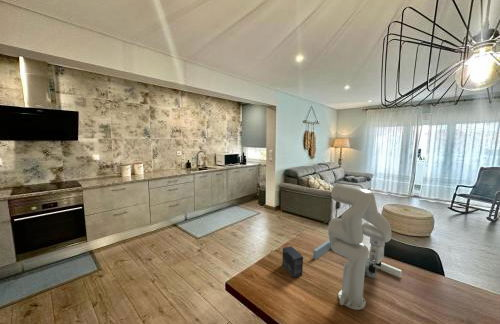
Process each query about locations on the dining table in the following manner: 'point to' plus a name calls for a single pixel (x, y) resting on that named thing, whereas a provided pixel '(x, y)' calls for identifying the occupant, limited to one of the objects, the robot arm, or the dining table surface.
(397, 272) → the fence
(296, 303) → the dining table surface
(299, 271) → the small box
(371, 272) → the grey rock
